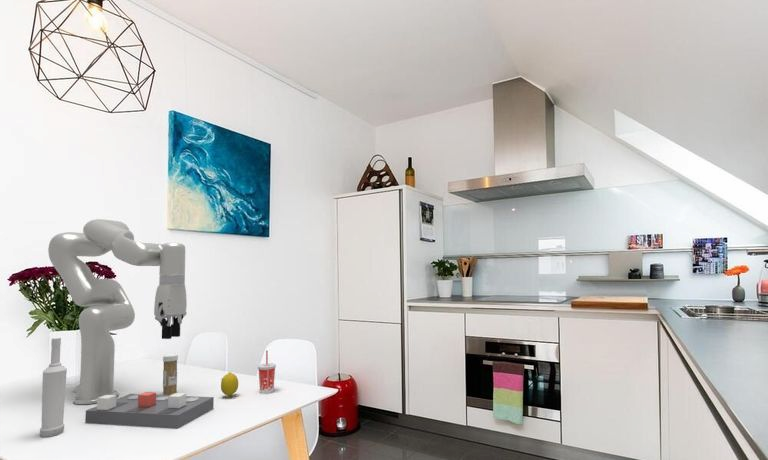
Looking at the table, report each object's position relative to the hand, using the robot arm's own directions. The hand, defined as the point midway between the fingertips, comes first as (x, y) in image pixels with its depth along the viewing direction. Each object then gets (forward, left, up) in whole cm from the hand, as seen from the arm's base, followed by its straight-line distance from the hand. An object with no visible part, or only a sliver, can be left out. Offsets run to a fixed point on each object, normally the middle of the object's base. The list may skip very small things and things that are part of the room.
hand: (171, 337), depth 136 cm
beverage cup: (+25, +17, -21) cm, 37 cm away
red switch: (+2, -12, -18) cm, 21 cm away
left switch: (-8, -16, -18) cm, 25 cm away
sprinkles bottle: (-8, +10, -21) cm, 25 cm away
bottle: (-15, -26, -21) cm, 37 cm away
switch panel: (+2, -10, -21) cm, 24 cm away
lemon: (+15, +10, -21) cm, 28 cm away
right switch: (+12, -12, -18) cm, 24 cm away
